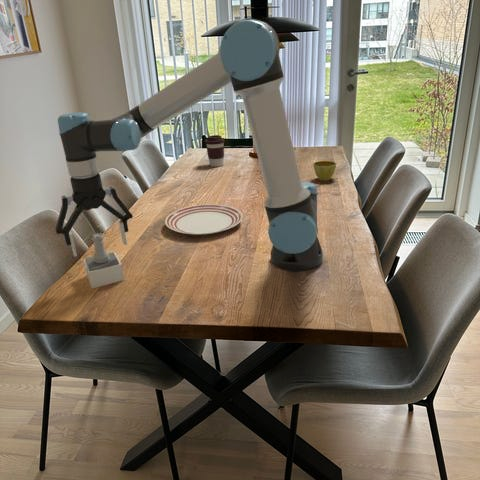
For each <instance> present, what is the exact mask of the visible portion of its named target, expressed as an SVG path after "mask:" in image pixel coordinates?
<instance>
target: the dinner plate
mask: <svg viewBox="0 0 480 480" xmlns="http://www.w3.org/2000/svg"><path fill="white" fill-rule="evenodd" d="M243 217H244V216H243V213H242V211H240V210H239V209H237V208H236V207H232V206H230V205H225V204H214V203H208V204H207V203H204V204H196V205H194V204H193V205H190V206H185V207H182V208H179V209H176V210H174V211H173V212H171V213H169V215H167V216H166V218H165V220H164V223H165V225H166V227H167V228H168V229H170V230H171V231H174V232H176V233H180V234H184V235H190V236H191V235H192V236H208V235H213V234H218V233H222V232H224V231H228V230H230V229H232V228H234V227H236V226H238V225H239V224H240V223H241V222H242V220H243Z"/></svg>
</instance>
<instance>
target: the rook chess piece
mask: <svg viewBox="0 0 480 480" xmlns="http://www.w3.org/2000/svg"><path fill="white" fill-rule="evenodd" d="M103 239H104V236H103V233H101V232H95V233H93V234H92V237H91V240H92V242H93V245H94V254H93V257H94V262H95V263H98V264H102V263H106V262H108V261H109V259H110V257H109V253H110V252H108V251H107V250H106V247H105V245H104V243H105V242H104V240H103Z"/></svg>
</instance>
